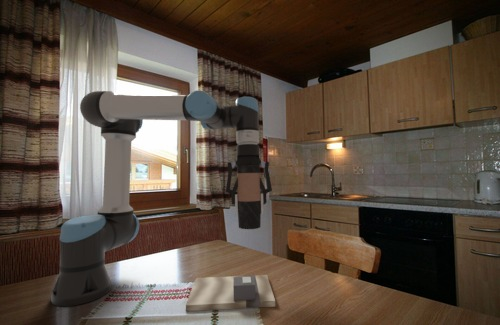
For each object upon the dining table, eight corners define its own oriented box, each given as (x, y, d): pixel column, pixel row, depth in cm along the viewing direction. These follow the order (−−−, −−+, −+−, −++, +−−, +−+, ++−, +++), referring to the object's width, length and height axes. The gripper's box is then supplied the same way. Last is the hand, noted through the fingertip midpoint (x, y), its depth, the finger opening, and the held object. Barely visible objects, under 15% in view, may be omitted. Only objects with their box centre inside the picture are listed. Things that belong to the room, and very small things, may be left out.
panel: (185, 311, 66) (185, 305, 66) (196, 282, 84) (196, 277, 84) (275, 306, 68) (275, 300, 68) (266, 279, 86) (266, 274, 86)
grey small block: (233, 300, 68) (233, 284, 68) (233, 290, 74) (233, 276, 74) (255, 299, 69) (255, 283, 69) (253, 289, 75) (253, 275, 75)
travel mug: (261, 229, 78) (260, 165, 79) (237, 229, 78) (235, 165, 79) (261, 224, 85) (259, 166, 86) (238, 224, 85) (237, 166, 86)
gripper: (216, 143, 79) (216, 216, 77) (280, 142, 80) (282, 214, 79) (217, 146, 86) (218, 213, 85) (276, 145, 87) (278, 211, 86)
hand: (249, 214), depth 82 cm, fingers closed on travel mug, 8 cm apart
